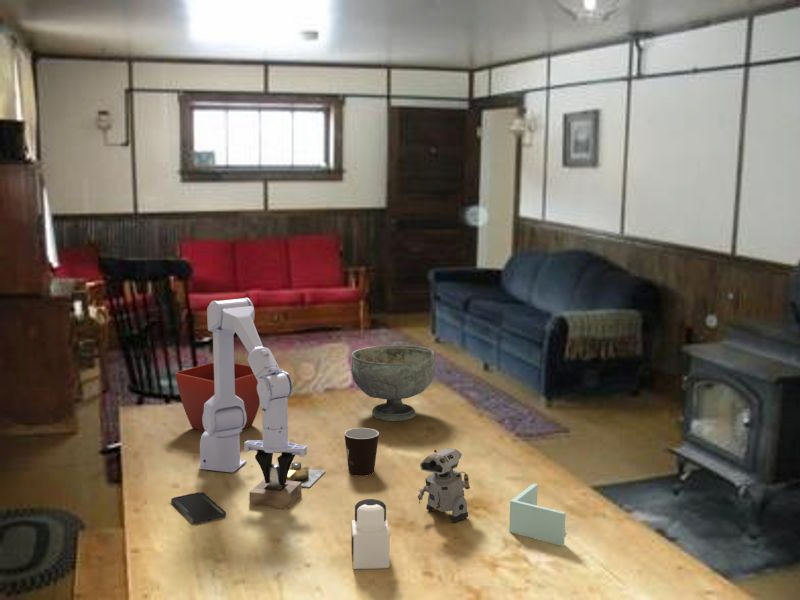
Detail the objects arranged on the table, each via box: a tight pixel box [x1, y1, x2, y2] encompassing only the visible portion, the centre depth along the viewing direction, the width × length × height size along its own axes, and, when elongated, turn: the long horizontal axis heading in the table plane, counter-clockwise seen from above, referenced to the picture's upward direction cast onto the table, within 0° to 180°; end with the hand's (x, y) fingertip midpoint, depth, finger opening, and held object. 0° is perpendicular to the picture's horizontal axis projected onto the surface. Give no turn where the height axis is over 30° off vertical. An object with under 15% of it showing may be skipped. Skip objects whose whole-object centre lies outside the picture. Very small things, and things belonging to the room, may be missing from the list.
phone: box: [170, 491, 227, 525], centre depth 191 cm, size 8×1×15 cm
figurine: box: [417, 447, 471, 524], centre depth 187 cm, size 9×12×15 cm
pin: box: [269, 463, 282, 491], centre depth 196 cm, size 3×3×7 cm
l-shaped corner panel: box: [508, 483, 567, 547], centre depth 183 cm, size 12×12×8 cm
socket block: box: [249, 479, 302, 510], centre depth 197 cm, size 9×9×3 cm
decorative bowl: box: [350, 344, 436, 422], centre depth 261 cm, size 26×26×20 cm
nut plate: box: [295, 468, 326, 489], centre depth 211 cm, size 11×11×1 cm
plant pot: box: [175, 361, 260, 432], centre depth 248 cm, size 19×19×17 cm
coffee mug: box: [344, 427, 380, 477], centre depth 216 cm, size 12×9×10 cm
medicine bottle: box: [350, 498, 391, 570], centre depth 167 cm, size 7×7×12 cm
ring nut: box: [287, 461, 310, 481], centre depth 208 cm, size 6×10×3 cm, turn 165°
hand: (275, 482), depth 197 cm, fingers closed on pin, 3 cm apart
